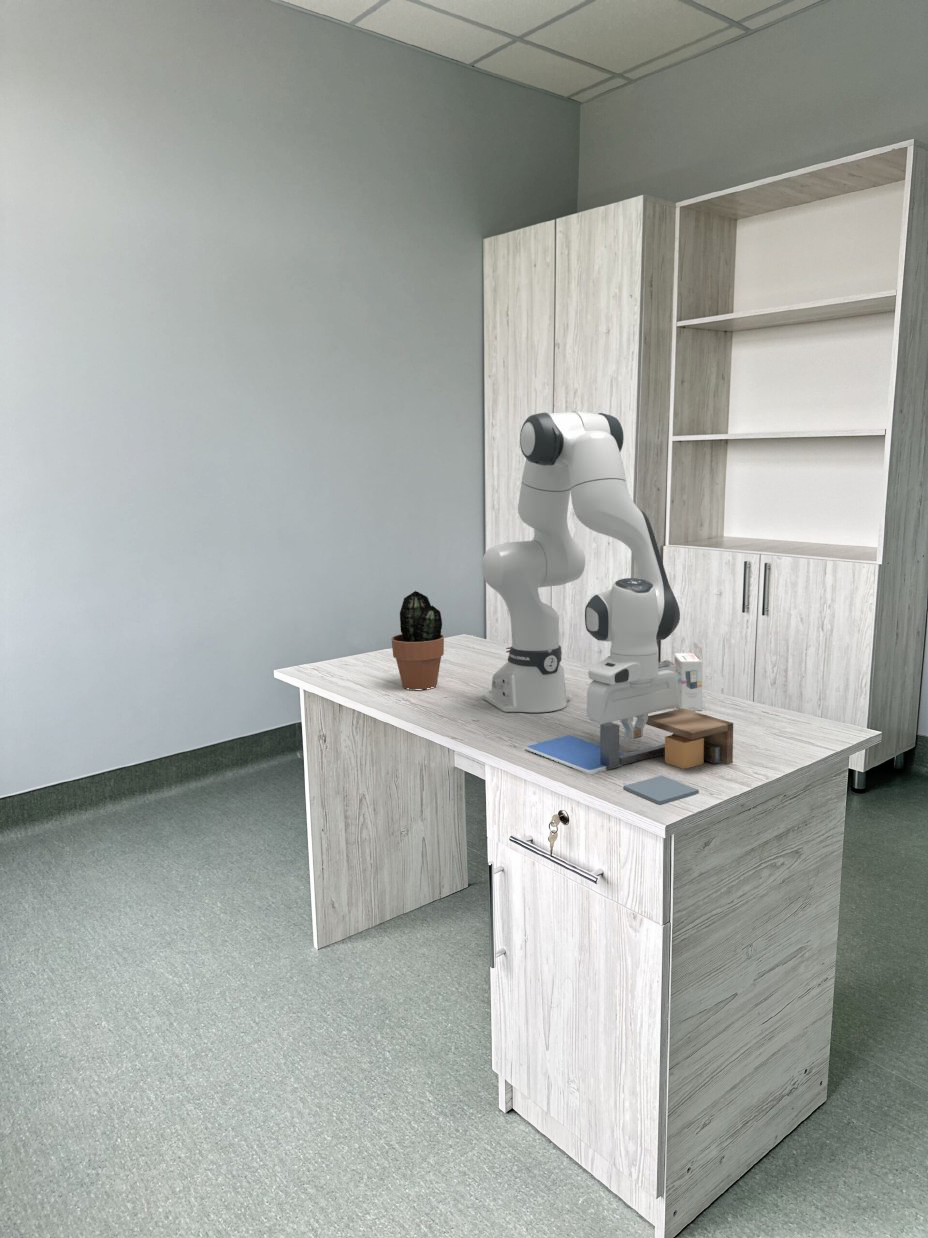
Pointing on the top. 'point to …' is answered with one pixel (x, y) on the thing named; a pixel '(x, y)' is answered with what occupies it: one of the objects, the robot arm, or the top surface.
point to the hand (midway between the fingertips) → (634, 737)
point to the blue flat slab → (571, 753)
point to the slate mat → (661, 789)
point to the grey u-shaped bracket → (614, 759)
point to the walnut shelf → (697, 729)
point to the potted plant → (418, 642)
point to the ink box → (689, 679)
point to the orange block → (684, 751)
